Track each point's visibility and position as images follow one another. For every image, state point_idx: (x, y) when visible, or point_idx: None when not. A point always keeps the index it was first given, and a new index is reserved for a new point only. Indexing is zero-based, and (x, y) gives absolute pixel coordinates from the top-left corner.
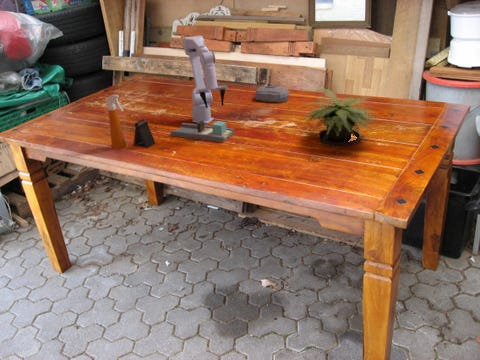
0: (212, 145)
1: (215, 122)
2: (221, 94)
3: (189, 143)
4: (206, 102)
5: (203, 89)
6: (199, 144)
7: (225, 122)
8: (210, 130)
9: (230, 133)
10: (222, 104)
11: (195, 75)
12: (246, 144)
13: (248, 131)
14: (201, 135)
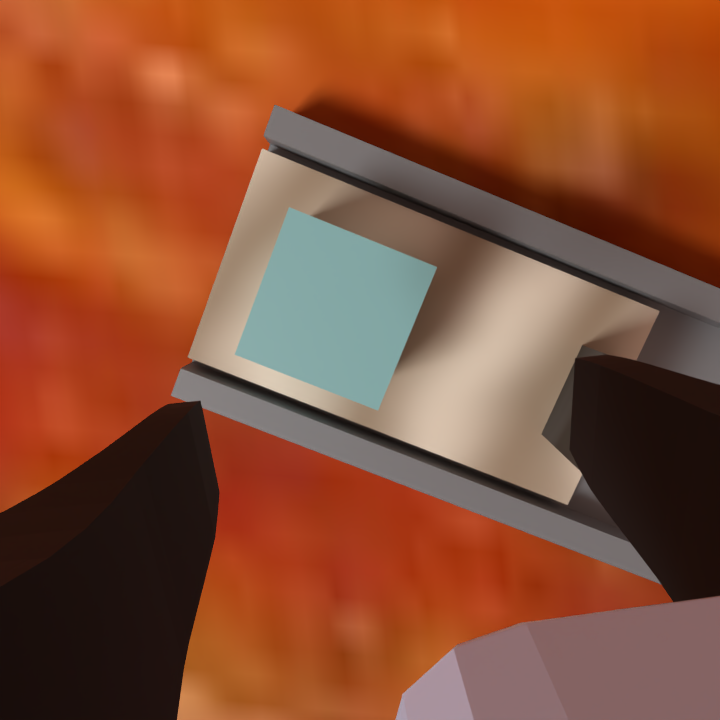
0: (402, 33)
1: (392, 358)
2: (14, 551)
3: (682, 118)
4: (649, 472)
5: None
6: (560, 77)
7: (238, 345)
8: (465, 396)
9: (211, 296)
10: (171, 410)
11: None
12: (7, 34)
13: (37, 429)
14: (562, 226)
